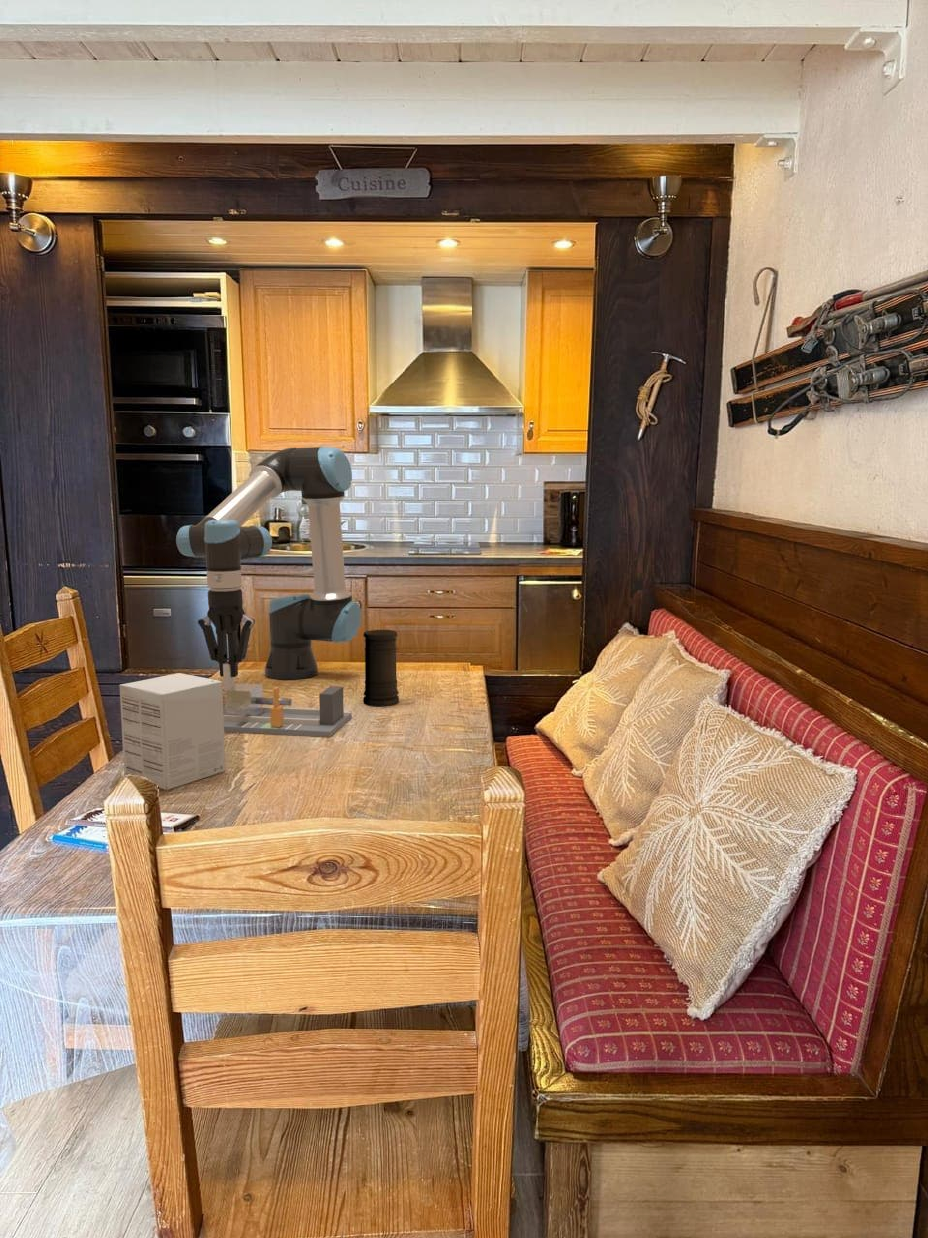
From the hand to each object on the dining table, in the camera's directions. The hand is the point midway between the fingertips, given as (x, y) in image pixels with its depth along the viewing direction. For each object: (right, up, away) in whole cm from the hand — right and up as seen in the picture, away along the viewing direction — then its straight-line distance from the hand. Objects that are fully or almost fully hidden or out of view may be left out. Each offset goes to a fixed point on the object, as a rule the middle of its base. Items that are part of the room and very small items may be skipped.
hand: (229, 690), depth 192 cm
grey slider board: (+11, -7, -2) cm, 13 cm away
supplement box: (0, -13, -37) cm, 39 cm away
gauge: (+7, -6, -3) cm, 10 cm away
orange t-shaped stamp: (+13, -7, -9) cm, 17 cm away
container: (+33, -5, +18) cm, 38 cm away
